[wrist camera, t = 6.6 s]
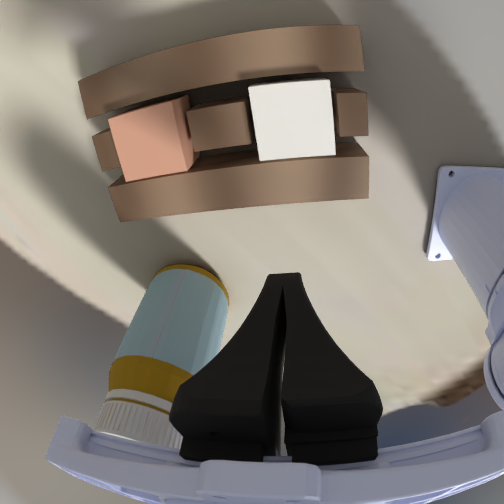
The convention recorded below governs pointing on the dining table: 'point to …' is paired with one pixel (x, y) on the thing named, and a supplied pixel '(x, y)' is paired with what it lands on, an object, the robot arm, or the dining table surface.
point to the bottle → (163, 353)
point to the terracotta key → (154, 139)
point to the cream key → (293, 118)
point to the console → (236, 122)
